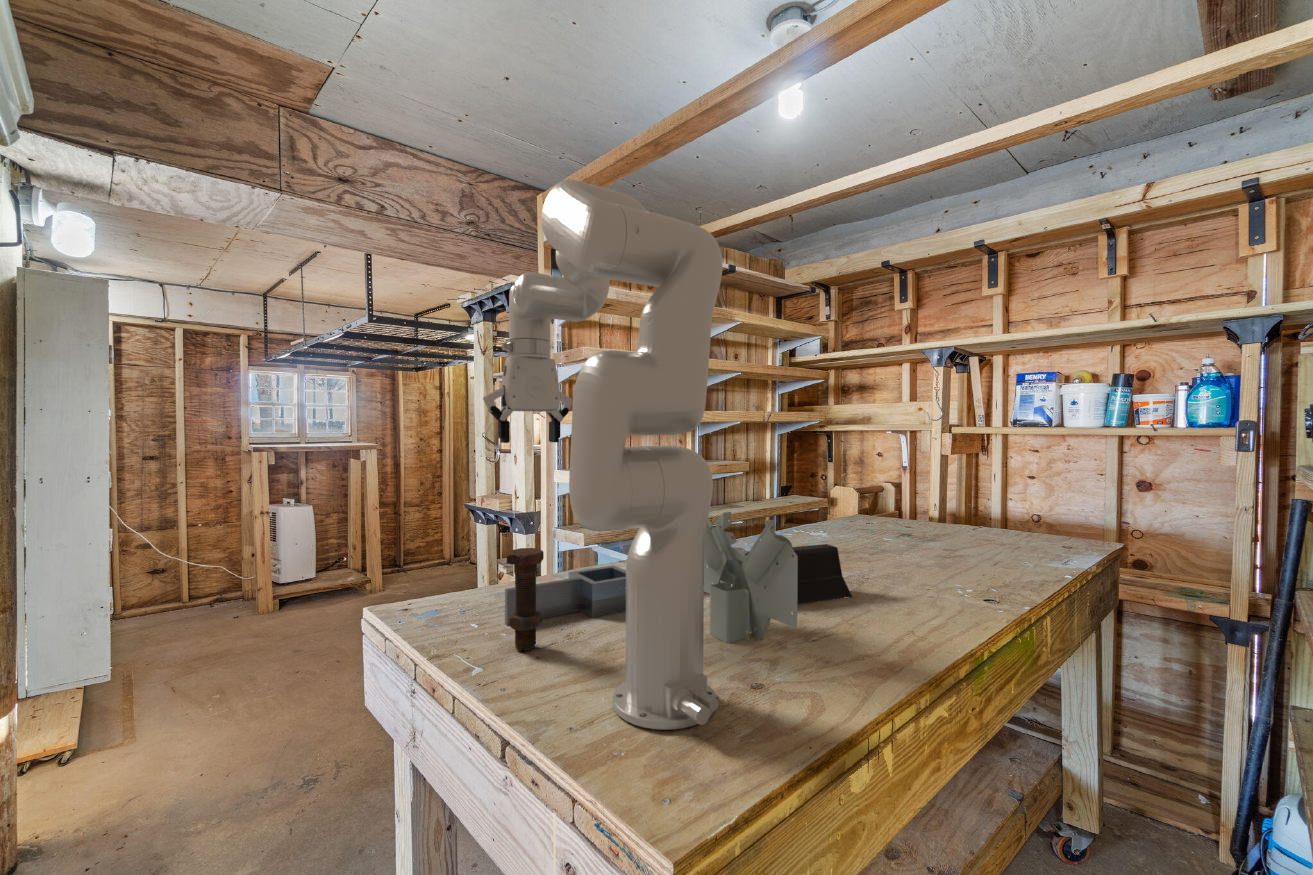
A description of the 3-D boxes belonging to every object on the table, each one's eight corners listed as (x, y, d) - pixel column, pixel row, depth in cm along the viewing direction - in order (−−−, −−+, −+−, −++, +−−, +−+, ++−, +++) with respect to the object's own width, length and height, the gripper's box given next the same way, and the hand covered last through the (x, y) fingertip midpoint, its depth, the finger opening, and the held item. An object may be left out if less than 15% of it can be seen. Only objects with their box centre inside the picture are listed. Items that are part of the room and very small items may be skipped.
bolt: (499, 650, 85) (499, 552, 85) (522, 639, 89) (521, 546, 89) (529, 658, 82) (529, 556, 82) (550, 646, 87) (550, 550, 86)
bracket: (814, 658, 82) (815, 523, 82) (780, 669, 79) (780, 527, 78) (701, 607, 106) (701, 502, 105) (670, 614, 102) (670, 504, 102)
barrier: (752, 612, 104) (752, 558, 104) (729, 599, 112) (729, 549, 112) (853, 598, 113) (853, 548, 113) (824, 587, 121) (825, 540, 121)
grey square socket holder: (698, 595, 113) (698, 566, 113) (516, 633, 92) (516, 597, 92) (670, 584, 122) (670, 556, 121) (496, 616, 101) (496, 583, 100)
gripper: (490, 345, 97) (490, 443, 97) (580, 352, 107) (580, 442, 107) (477, 350, 103) (477, 442, 104) (563, 357, 113) (563, 441, 113)
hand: (530, 442), depth 105 cm, fingers open, 9 cm apart
